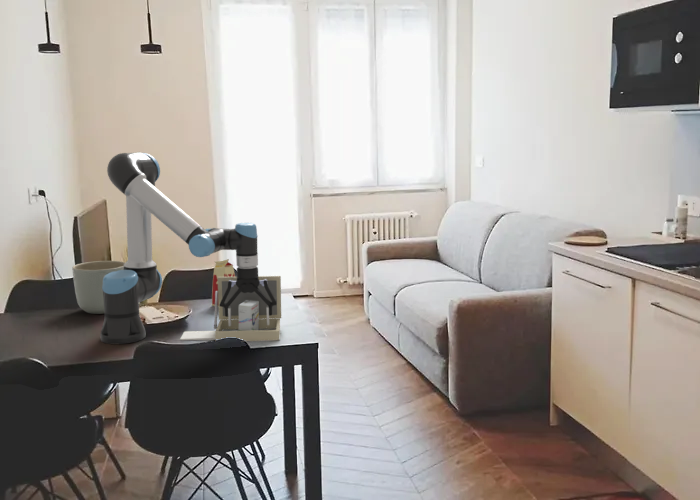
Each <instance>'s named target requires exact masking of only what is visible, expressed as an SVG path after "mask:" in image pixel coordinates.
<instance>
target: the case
mask: <svg viewBox="0 0 700 500" xmlns="http://www.w3.org/2000/svg"><path fill="white" fill-rule="evenodd" d="M258 279H259V281H260V280H264V279H267V283H268V286H269V288H270V290H271V292H272V293H273V295H274V297H275V299H276V301H277V305H274V306H272V315H271V316H269V325H267V306H268V305H267V304H266V303H265V302H264V301H263V300H262V299H261V298H260V296H259V295H258V294H256V293H255V291H254V292H252V293H249V292H247V293H243V292H240V294H239V295H238V296H237V297H236V298H235V299H234V301H233V302H232V303H231V304H230V306H229V307H231V326H229V323H228V317H226V316H225V308H224V307H220V302H221V300H222V298H223V296H224V294H225V292H226V290H227V288H228V282H229V280H232V281H237V276H235V277H218V291H216V292H215V306H214V319H213V320H214V323H213V329H214V330H215V331H216V332H215V338H216V339H221V338H226V337H236V338H240V339H243V340H246V341H245V342H261V341H262V342H263V341H280V337H281V333H280V332H281V319H282V284H281V283H282V282H281V281H282V277H281V275H263V276H262V275H258ZM258 288H259V289H260V291H261V292H262V293H263V294H264V295H265V296H266V297H267V298H268V299H269V301H270V302H272V300H271V299H270V297H269V295H268V293H267V291H266V290H265V287H264V286H262V284H259V286H258ZM237 290H238V287H237V285H236V284H235V285H234V286H233V287H231V289H230V292H229V294H228V296H227V298H226V300H225V302H224V303H227V302H228V301H229V299H230V298H231V297H232V296H233V295H234V293H235V292H236V291H237ZM246 300H252V301H259V330H247V331H239V304H241V303H242V302H244V301H246ZM217 306H219V307H217ZM218 320H219V321H218Z"/></svg>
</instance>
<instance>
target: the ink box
mask: <svg viewBox="0 0 700 500" xmlns="http://www.w3.org/2000/svg"><path fill="white" fill-rule="evenodd" d="M247 330H260V329H259V301H252V300H246V301H244V302H242V303H241V304H239V329H238V331H247Z"/></svg>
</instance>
